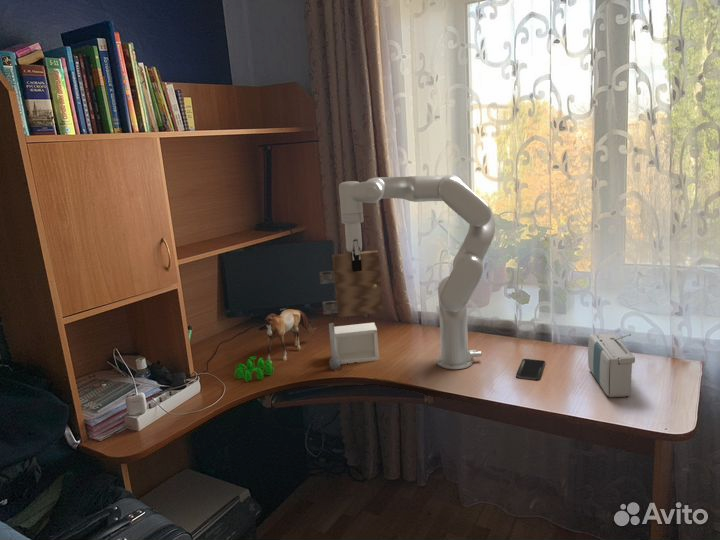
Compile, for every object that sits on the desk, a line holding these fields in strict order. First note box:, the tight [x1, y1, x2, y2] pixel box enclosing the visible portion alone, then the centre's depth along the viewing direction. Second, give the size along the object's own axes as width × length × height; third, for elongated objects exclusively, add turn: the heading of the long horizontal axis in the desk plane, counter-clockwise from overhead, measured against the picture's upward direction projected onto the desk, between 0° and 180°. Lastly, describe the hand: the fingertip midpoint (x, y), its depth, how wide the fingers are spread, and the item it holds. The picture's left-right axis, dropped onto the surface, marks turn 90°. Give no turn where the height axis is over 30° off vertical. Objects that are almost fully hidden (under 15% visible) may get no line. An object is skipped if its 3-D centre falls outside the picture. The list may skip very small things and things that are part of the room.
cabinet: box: [328, 322, 380, 371], centre depth 212 cm, size 18×13×17 cm
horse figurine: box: [264, 308, 317, 365], centre depth 223 cm, size 31×8×21 cm, turn 153°
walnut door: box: [319, 249, 384, 318], centre depth 202 cm, size 21×5×22 cm, turn 96°
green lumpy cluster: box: [234, 355, 275, 383], centre depth 208 cm, size 15×15×7 cm
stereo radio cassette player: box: [587, 333, 636, 398], centre depth 179 cm, size 21×8×20 cm, turn 174°
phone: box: [515, 358, 546, 381], centre depth 195 cm, size 8×1×15 cm
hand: (356, 269), depth 201 cm, fingers closed on walnut door, 3 cm apart
